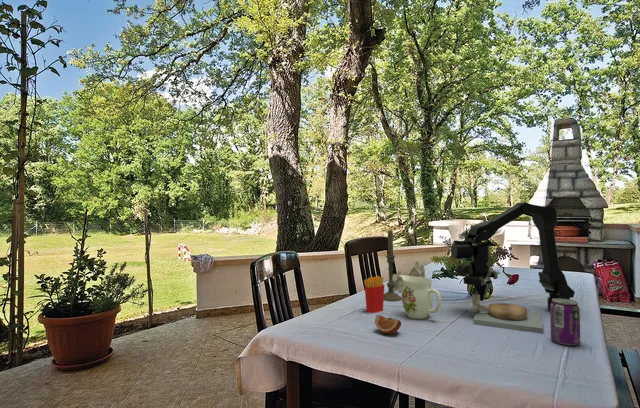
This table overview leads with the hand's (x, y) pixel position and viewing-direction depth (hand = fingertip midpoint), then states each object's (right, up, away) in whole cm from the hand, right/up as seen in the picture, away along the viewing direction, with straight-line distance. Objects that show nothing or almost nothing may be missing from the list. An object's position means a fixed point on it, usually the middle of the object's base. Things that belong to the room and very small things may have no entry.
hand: (481, 300), depth 134 cm
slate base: (+5, -5, -8) cm, 11 cm away
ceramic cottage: (-16, -6, +39) cm, 43 cm away
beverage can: (+11, -4, -30) cm, 32 cm away
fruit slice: (-38, -5, -20) cm, 44 cm away
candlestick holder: (-29, -5, +23) cm, 37 cm away
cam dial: (+3, -3, -7) cm, 8 cm away
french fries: (-39, -5, +4) cm, 40 cm away
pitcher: (-24, -5, -4) cm, 25 cm away
